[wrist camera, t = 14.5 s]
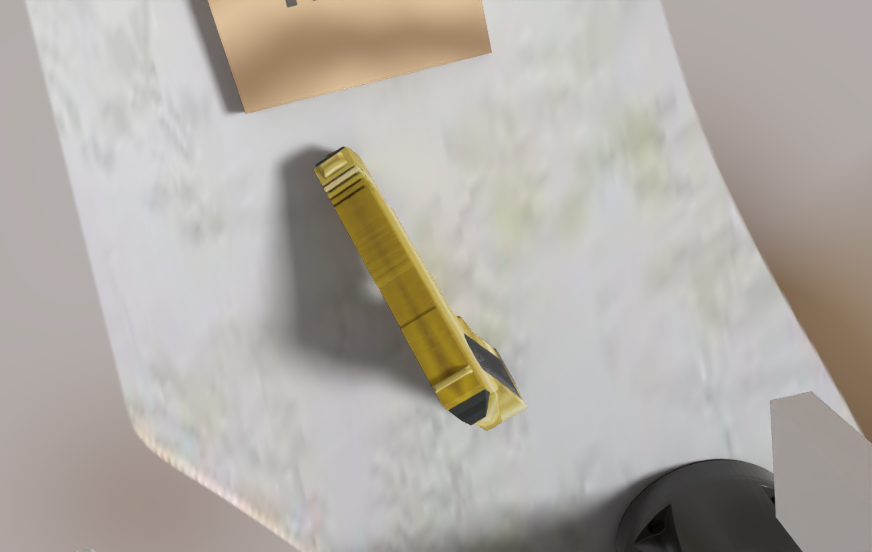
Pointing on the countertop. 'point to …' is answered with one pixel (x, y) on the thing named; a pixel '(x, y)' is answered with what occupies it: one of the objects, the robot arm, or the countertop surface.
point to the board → (340, 43)
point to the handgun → (419, 300)
